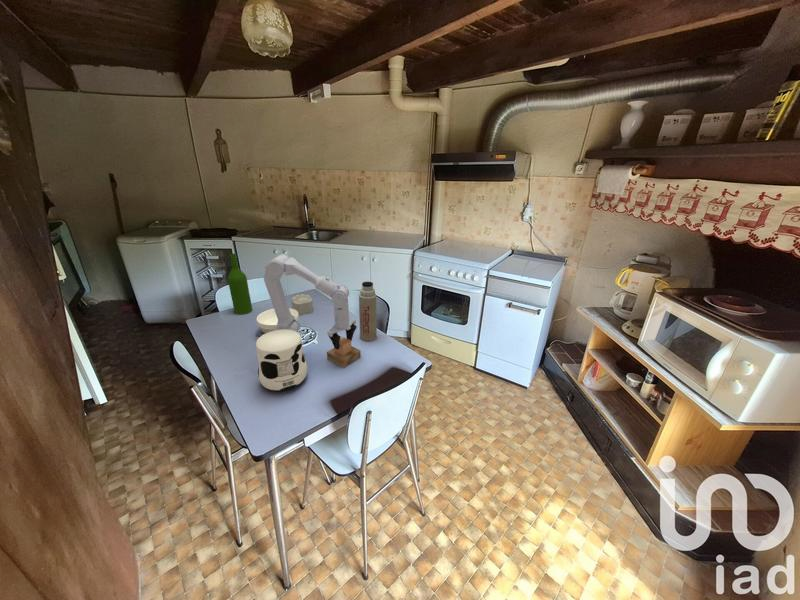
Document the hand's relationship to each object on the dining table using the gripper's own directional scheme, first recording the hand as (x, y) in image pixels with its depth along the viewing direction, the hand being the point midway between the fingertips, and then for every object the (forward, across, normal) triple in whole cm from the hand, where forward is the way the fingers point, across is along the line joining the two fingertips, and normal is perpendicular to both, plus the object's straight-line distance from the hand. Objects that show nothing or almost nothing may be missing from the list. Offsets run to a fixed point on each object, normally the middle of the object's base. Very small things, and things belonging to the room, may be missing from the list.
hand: (343, 344), depth 130 cm
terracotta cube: (+3, 0, 0) cm, 3 cm away
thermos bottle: (+7, +20, +3) cm, 21 cm away
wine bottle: (+7, 0, +76) cm, 76 cm away
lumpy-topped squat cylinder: (+7, +21, +52) cm, 56 cm away
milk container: (+7, -24, +8) cm, 26 cm away
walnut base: (+7, 0, 0) cm, 7 cm away
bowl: (+7, -2, +41) cm, 42 cm away
